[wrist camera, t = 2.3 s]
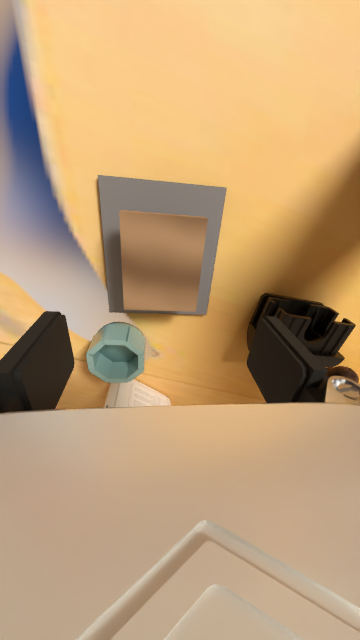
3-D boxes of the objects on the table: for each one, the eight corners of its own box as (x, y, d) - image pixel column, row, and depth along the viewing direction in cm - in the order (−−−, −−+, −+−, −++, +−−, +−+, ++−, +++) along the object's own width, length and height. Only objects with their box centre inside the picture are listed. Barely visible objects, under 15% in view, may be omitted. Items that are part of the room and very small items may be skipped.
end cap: (240, 337, 32) (259, 370, 26) (258, 291, 28) (285, 317, 22) (301, 345, 34) (332, 378, 28) (326, 303, 30) (366, 330, 24)
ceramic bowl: (92, 321, 28) (83, 339, 25) (145, 322, 29) (144, 340, 25) (97, 361, 31) (90, 383, 28) (145, 361, 32) (144, 382, 29)
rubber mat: (99, 175, 21) (90, 173, 18) (224, 187, 22) (234, 187, 19) (110, 309, 28) (105, 323, 25) (205, 312, 29) (210, 325, 26)
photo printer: (104, 386, 34) (80, 476, 23) (119, 369, 32) (102, 456, 22) (158, 411, 38) (159, 498, 27) (174, 397, 36) (181, 482, 26)
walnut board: (121, 210, 19) (119, 211, 18) (204, 217, 20) (207, 218, 19) (125, 303, 24) (123, 309, 23) (193, 305, 25) (195, 311, 24)
